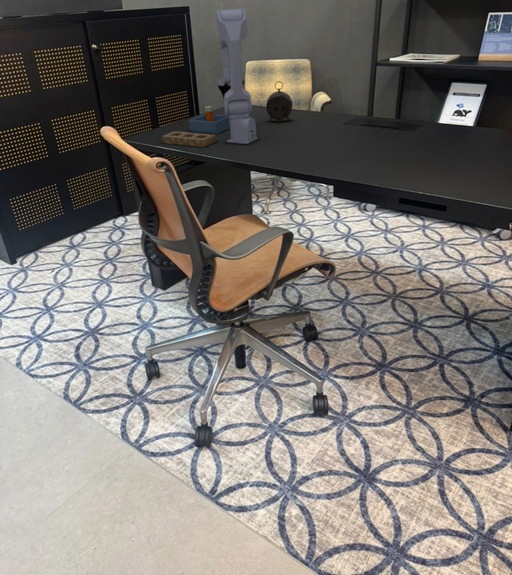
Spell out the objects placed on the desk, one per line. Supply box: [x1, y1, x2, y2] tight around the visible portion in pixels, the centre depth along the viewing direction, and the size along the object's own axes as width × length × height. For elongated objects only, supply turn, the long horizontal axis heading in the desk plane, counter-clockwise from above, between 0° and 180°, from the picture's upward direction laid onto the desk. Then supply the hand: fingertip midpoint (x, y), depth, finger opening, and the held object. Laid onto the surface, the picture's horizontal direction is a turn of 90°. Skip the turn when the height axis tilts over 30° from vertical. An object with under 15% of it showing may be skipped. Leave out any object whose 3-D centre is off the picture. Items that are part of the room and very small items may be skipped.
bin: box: [188, 113, 230, 135], centre depth 209 cm, size 14×12×5 cm
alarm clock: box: [265, 81, 293, 123], centre depth 211 cm, size 11×5×16 cm, turn 84°
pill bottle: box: [204, 105, 214, 122], centre depth 208 cm, size 3×3×8 cm
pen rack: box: [161, 130, 217, 148], centre depth 194 cm, size 20×8×3 cm, turn 60°
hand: (232, 101), depth 206 cm, fingers open, 7 cm apart
